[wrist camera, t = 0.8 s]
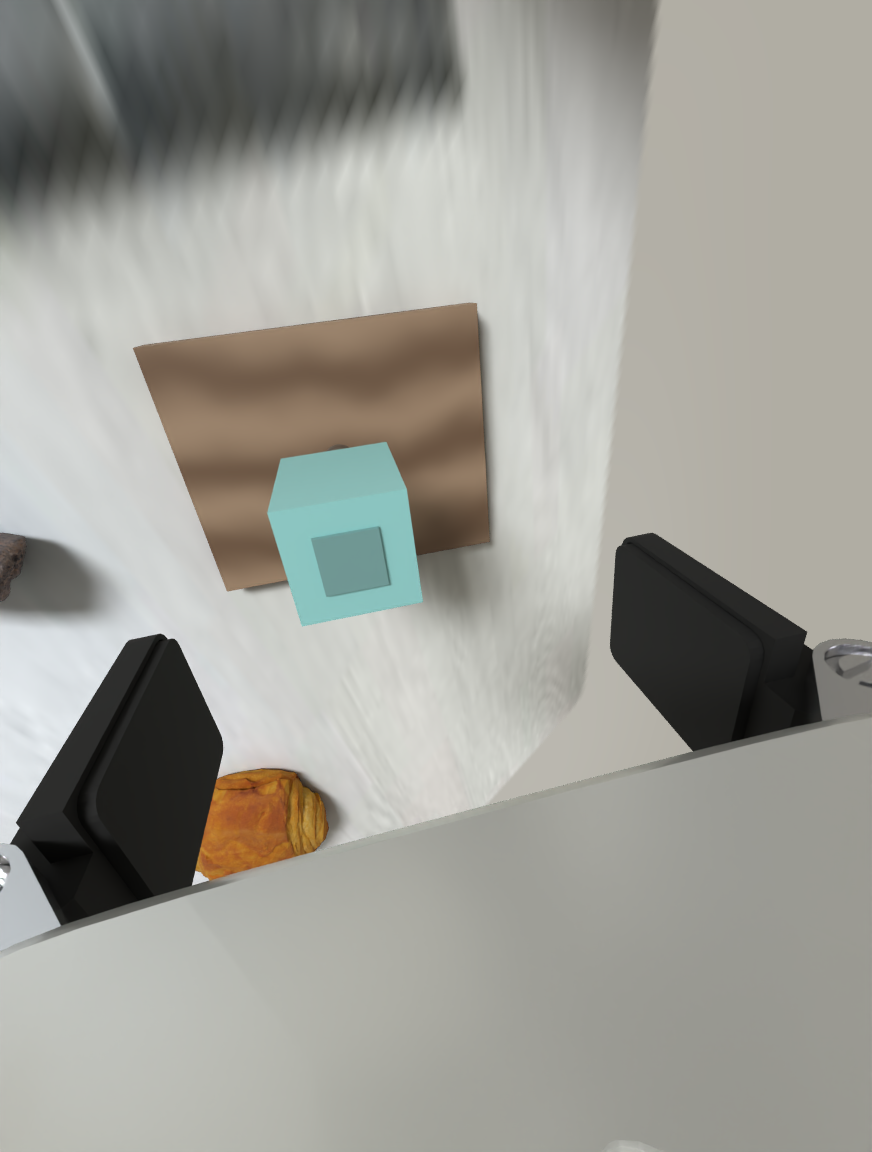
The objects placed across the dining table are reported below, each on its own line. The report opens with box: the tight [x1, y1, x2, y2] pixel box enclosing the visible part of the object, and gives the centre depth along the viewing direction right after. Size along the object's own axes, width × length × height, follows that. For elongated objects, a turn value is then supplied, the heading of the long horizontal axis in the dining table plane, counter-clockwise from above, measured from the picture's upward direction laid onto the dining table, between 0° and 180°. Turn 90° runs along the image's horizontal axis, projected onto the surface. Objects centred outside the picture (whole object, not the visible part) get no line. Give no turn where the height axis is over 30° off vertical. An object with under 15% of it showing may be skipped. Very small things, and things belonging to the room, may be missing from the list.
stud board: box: [133, 303, 490, 591], centre depth 33 cm, size 18×22×11 cm
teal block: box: [267, 442, 423, 626], centre depth 26 cm, size 6×6×8 cm
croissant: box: [195, 769, 329, 880], centre depth 53 cm, size 14×16×8 cm
